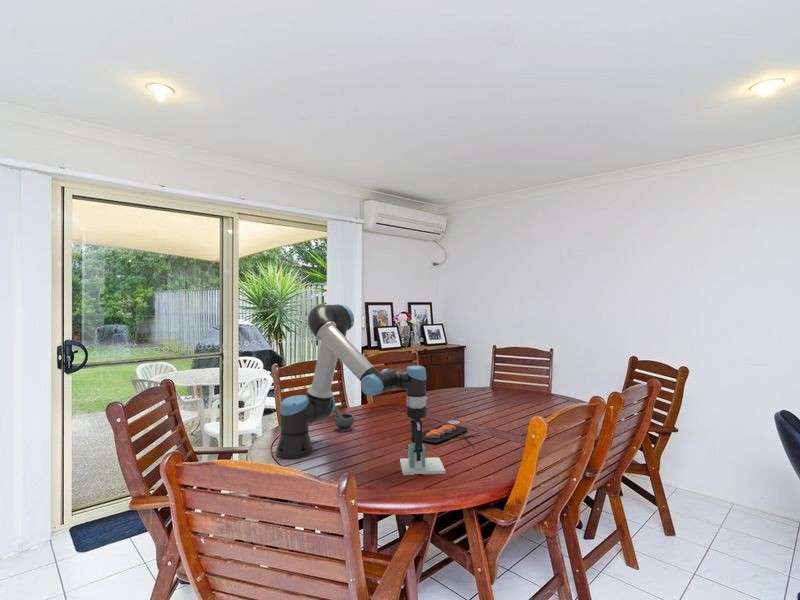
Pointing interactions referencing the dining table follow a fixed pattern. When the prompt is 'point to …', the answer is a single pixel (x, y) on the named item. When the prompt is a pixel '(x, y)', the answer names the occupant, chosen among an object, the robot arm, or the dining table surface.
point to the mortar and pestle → (343, 420)
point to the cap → (412, 455)
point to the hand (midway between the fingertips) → (416, 463)
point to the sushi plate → (444, 433)
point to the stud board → (430, 467)
